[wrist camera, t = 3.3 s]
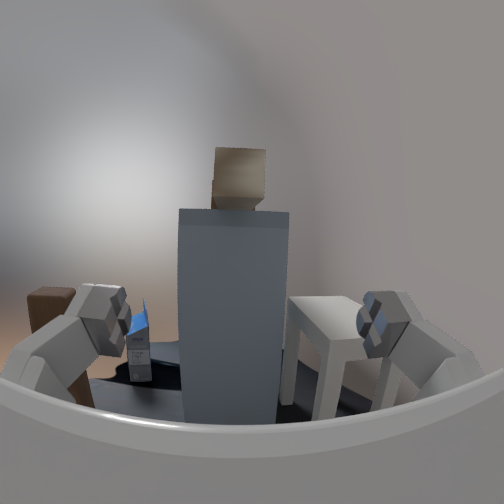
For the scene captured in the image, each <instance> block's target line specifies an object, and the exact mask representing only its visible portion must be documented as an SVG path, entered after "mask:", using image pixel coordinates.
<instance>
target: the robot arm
mask: <svg viewBox="0 0 504 504" xmlns="http://www.w3.org/2000/svg"><path fill="white" fill-rule="evenodd" d="M126 296H127V295H126V292H125V289H124V288H123V287H122V286H112V285H103V284H90V283H83V284H82V285H81V286H80V288H79V289H78V291H77V293H76V294H75V296H74V298H73V300H72V301H71V303H70V305H69V307H68V308H67V310H66V312H65V314H64V315H59V316H58V317H56V318H55V319H53V320H52V321H50V322H49V323H47V324H46V325H44V326H43V327H42V328H40V329H39V330H37V331H36V332H34V333H33V334H32V335H30V336H29V337H27V338H26V339H25V340H23V341H22V342H20V343H19V344H18V345H16V346H15V347H13V349H12V351H11V353H10V355H9V357H8V359H7V361H6V363H5V365H4V367H3V369H2V371H1V373H0V504H504V367H503V368H501V369H499V370H497V371H495V372H493V373H491V374H488V375H486V376H485V374H484V372H483V370H482V369H481V367H480V365H479V363H478V361H477V360H476V358H475V356H474V354H473V352H472V351H471V350H470V349H468V348H467V347H466V346H464V345H463V344H461V343H460V342H459V341H457V340H456V339H454V338H453V337H451V336H450V335H449V334H447V333H446V332H444V331H443V330H441V329H440V328H438V327H437V326H435V325H434V324H432V323H431V322H430V321H428V320H424V319H423V318H422V316H421V314H420V312H419V311H418V309H417V308H416V306H415V304H414V303H413V301H412V300H411V298H410V297H409V295H408V294H407V292H406V291H405V290H392V291H368V292H367V293H366V294H365V296H364V298H363V302H364V304H365V305H364V306H362V307H361V308H360V309H359V311H358V313H357V316H356V328H357V331H358V334H359V335H360V336H361V337H362V338H364V342H363V347H364V349H365V352H366V355H367V357H368V359H371V358H380V357H388V358H389V359H390V360H391V361H392V362H393V363H394V364H395V365H396V366H397V367H398V368H399V369H400V370H401V371H402V372H403V373H404V374H405V375H406V376H407V377H408V378H409V379H410V380H411V381H412V382H413V383H414V384H415V385H416V386H417V387H418V388H419V389H420V390H419V391H418V392H417V393H416V394H415V395H414V396H413V398H412V402H410V403H407V404H403V405H399V406H395V407H391V408H386V409H382V410H377V411H373V412H368V413H363V414H357V415H352V416H346V417H340V418H333V419H325V420H317V421H308V422H298V423H285V424H267V425H213V424H194V423H182V422H171V421H162V420H154V419H147V418H140V417H134V416H128V415H123V414H118V413H113V412H108V411H103V410H99V409H94V408H90V407H86V406H82V405H78V404H76V400H75V398H74V397H73V396H72V395H71V394H70V392H69V391H68V390H67V388H68V387H69V386H70V385H71V384H72V383H73V382H74V381H75V380H76V379H77V378H78V377H79V376H80V375H81V374H82V373H83V372H84V371H85V370H86V369H87V368H88V367H89V366H90V365H91V364H92V363H93V362H94V361H95V360H96V358H98V357H99V355H104V356H112V357H121V356H122V352H123V349H124V346H125V343H126V342H125V339H124V336H125V335H126V334H127V333H129V330H130V327H131V319H132V316H131V309H130V306H129V305H128V304H127V303H126V302H125V299H126Z"/></svg>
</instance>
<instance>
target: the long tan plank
mask: <svg viewBox="0 0 504 504" xmlns="http://www.w3.org/2000/svg"><path fill="white" fill-rule="evenodd" d="M265 154H266V150H264V149H247V148H225V147H216V148H215V163H214V180H213V181H212V201H211V209H221V210H249V211H255V206H256V205H257V204H258V203H260V202H261V201H262V200H263V199H264V188H265V187H264V185H265Z"/></svg>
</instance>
